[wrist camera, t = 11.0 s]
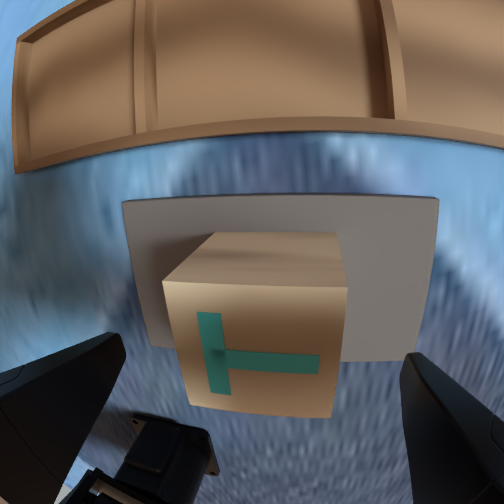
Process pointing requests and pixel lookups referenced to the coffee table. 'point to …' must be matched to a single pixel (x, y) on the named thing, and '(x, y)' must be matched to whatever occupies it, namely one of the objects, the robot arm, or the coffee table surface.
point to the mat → (302, 220)
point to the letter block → (260, 322)
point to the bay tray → (254, 73)
